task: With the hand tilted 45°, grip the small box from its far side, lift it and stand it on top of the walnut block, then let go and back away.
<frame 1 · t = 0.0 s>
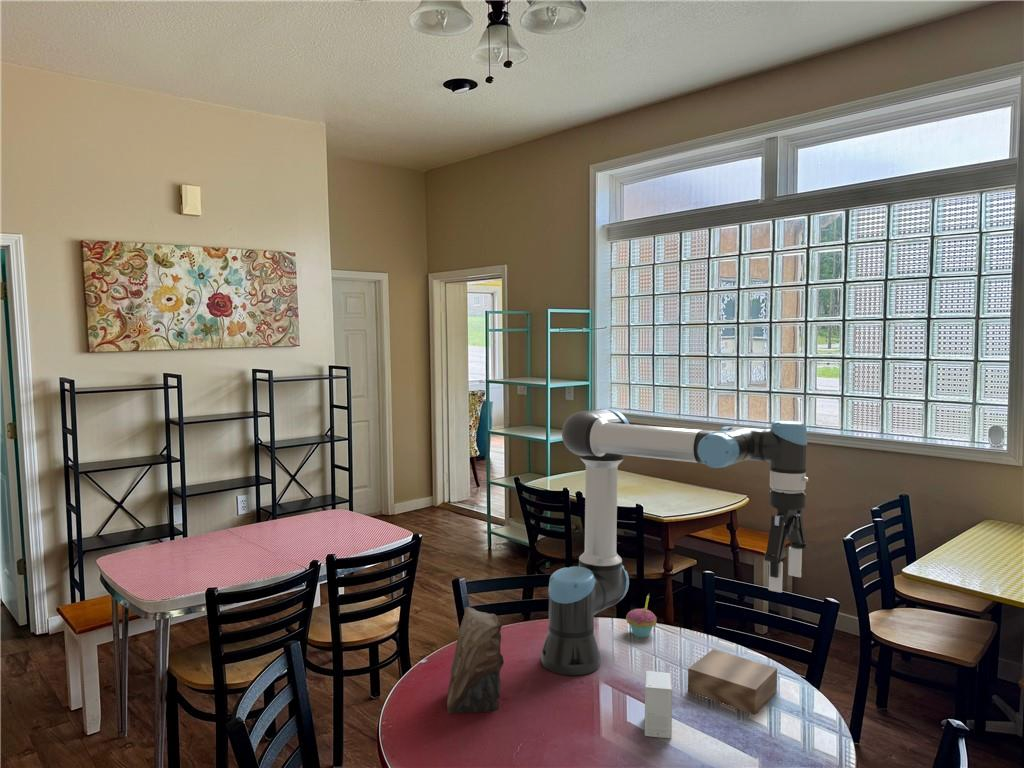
hand: (785, 583, 156), 28 cm above the table, tool pointing down, fingers open, 13 cm apart
cupcake: (640, 635, 196), on the table
walnut block: (732, 693, 163), on the table
owl: (469, 703, 157), on the table
small box: (657, 729, 146), on the table
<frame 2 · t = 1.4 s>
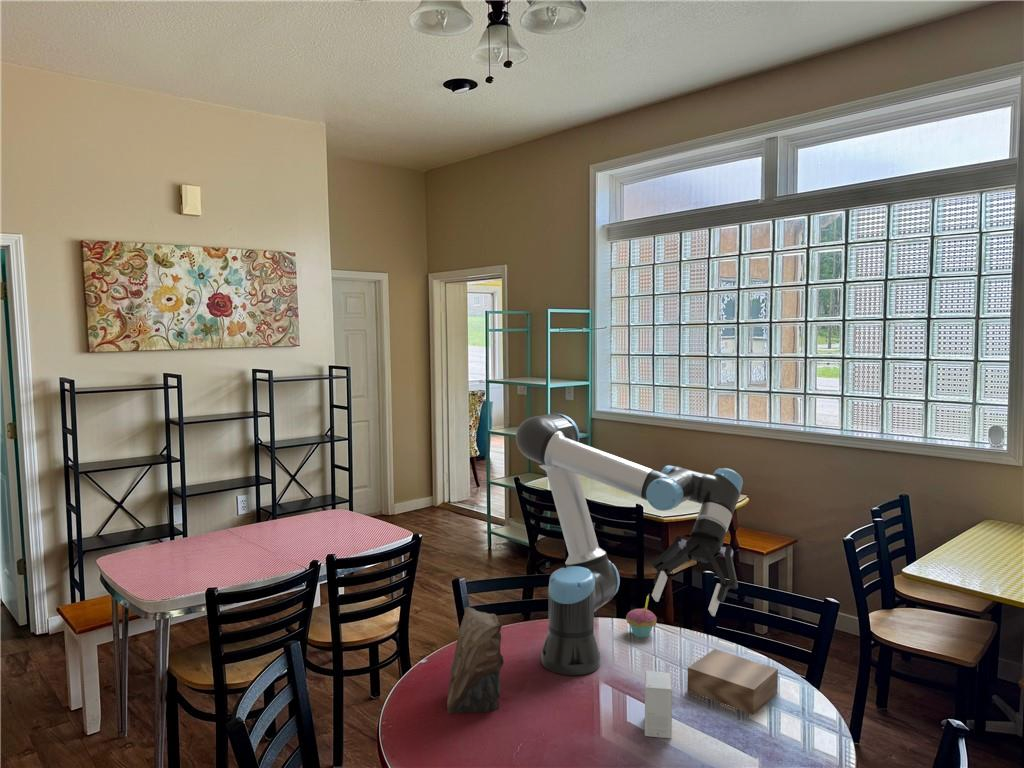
hand: (682, 605, 154), 23 cm above the table, tool tilted 45°, fingers open, 13 cm apart
nothing on the table moved.
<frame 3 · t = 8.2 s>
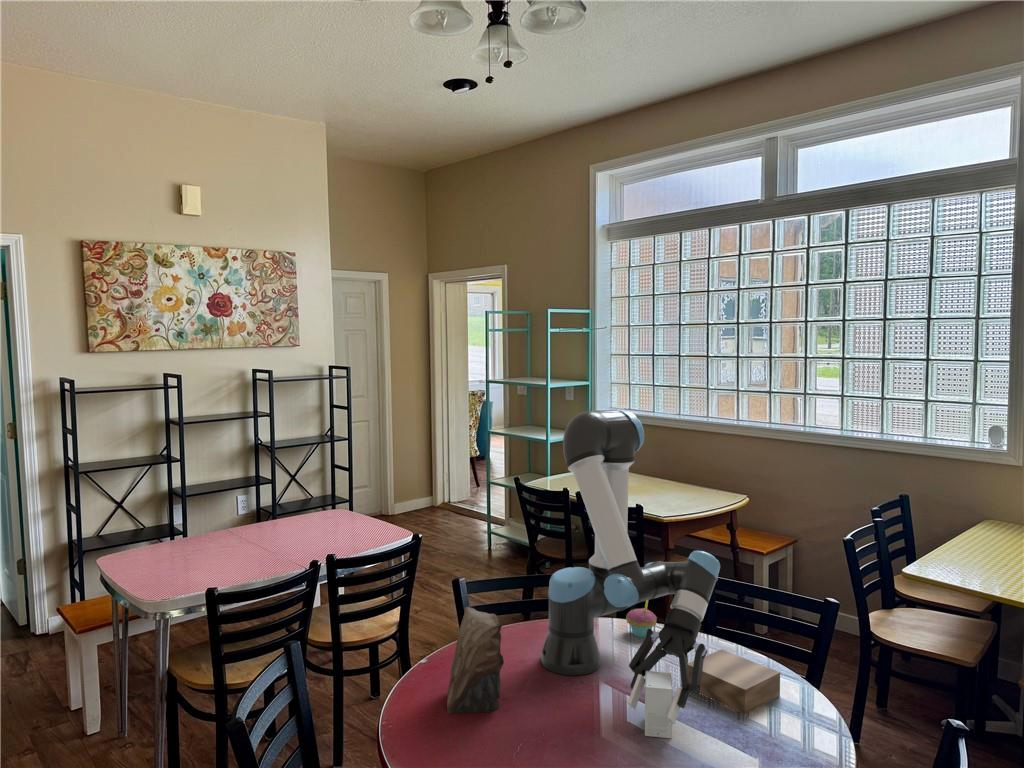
hand: (650, 713, 144), 5 cm above the table, tool tilted 45°, fingers closed on small box, 8 cm apart
small box: (657, 728, 146), on the table, touching gripper
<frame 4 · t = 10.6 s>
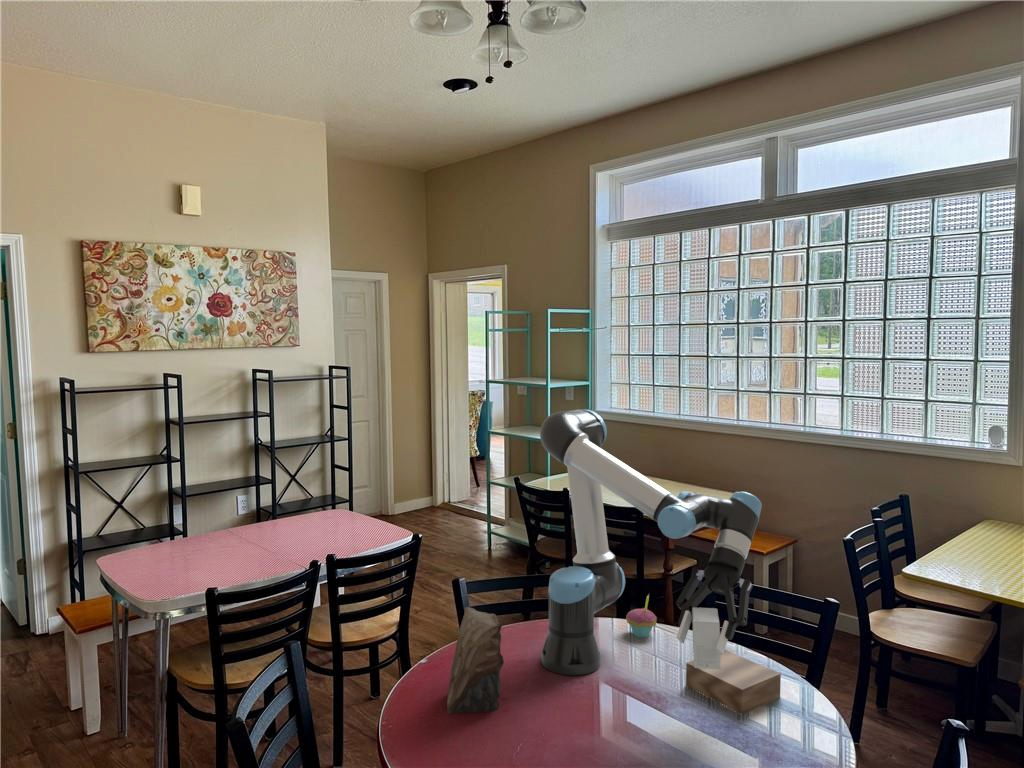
hand: (699, 646, 149), 16 cm above the table, tool tilted 40°, fingers closed on small box, 8 cm apart
small box: (706, 661, 152), point 12 cm above the table, touching gripper
when the fingers open (12 cm above the table, at t = 13.1 s): small box drops 2 cm, resting on walnut block.
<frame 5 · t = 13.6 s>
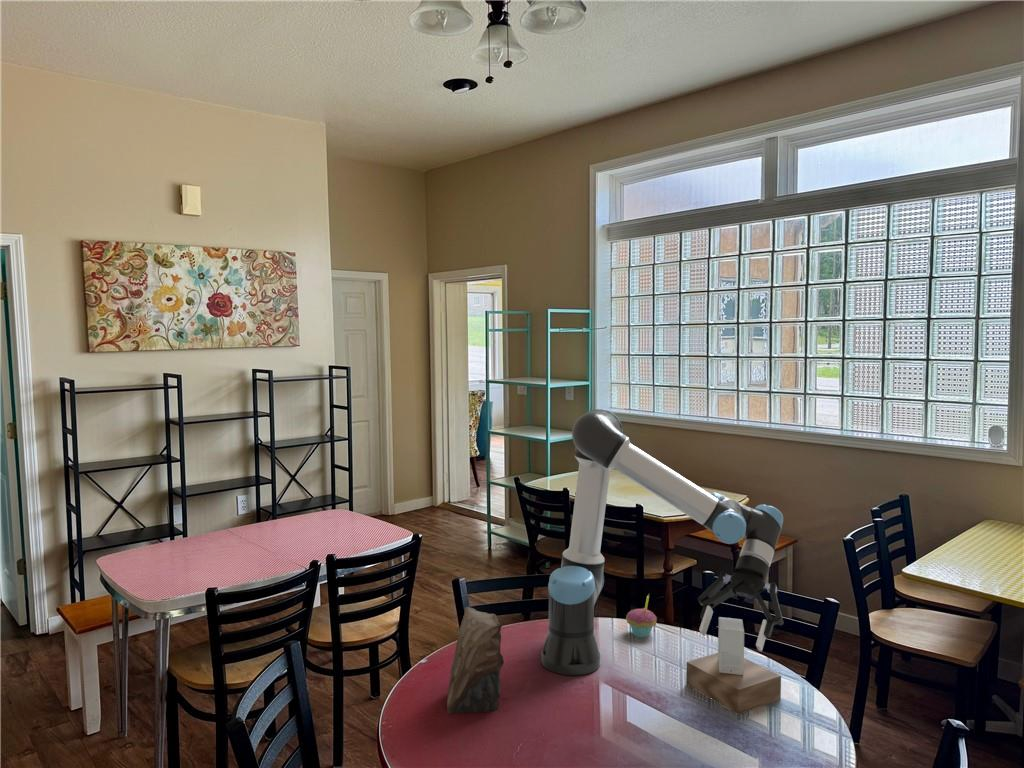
hand: (729, 640, 160), 13 cm above the table, tool tilted 45°, fingers open, 13 cm apart
walnut block: (732, 693, 163), on the table, touching small box
small box: (730, 668, 163), point 5 cm above the table, touching walnut block
everything else where it was.
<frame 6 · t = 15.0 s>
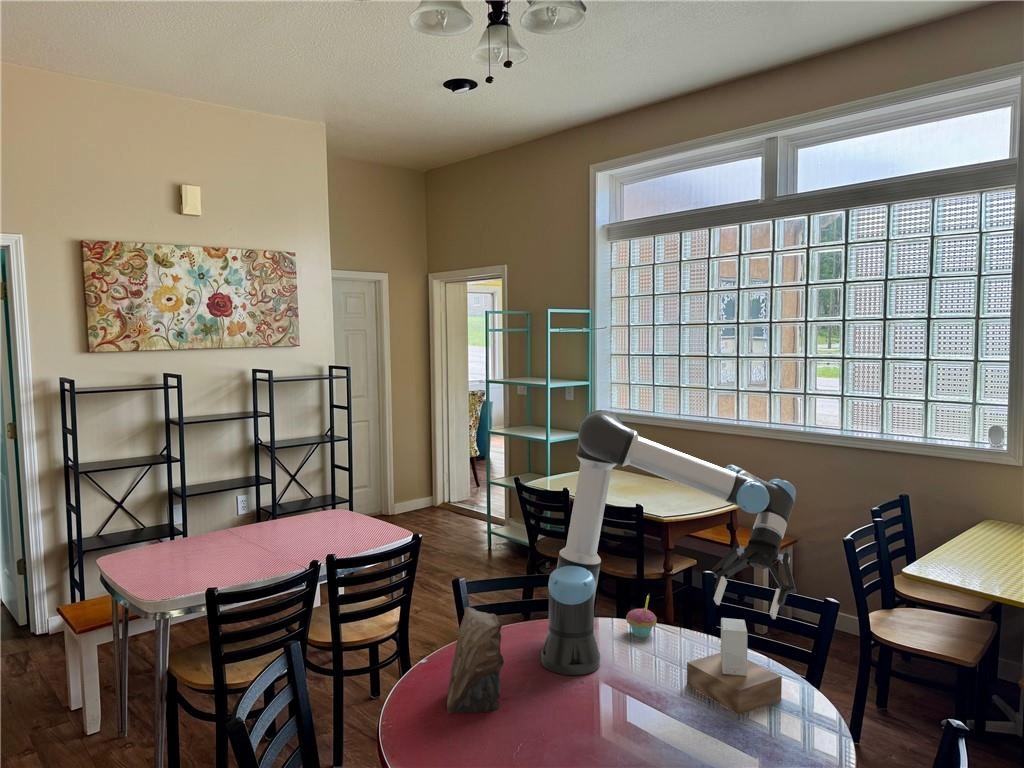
hand: (743, 609, 164), 19 cm above the table, tool tilted 45°, fingers open, 13 cm apart
nothing on the table moved.
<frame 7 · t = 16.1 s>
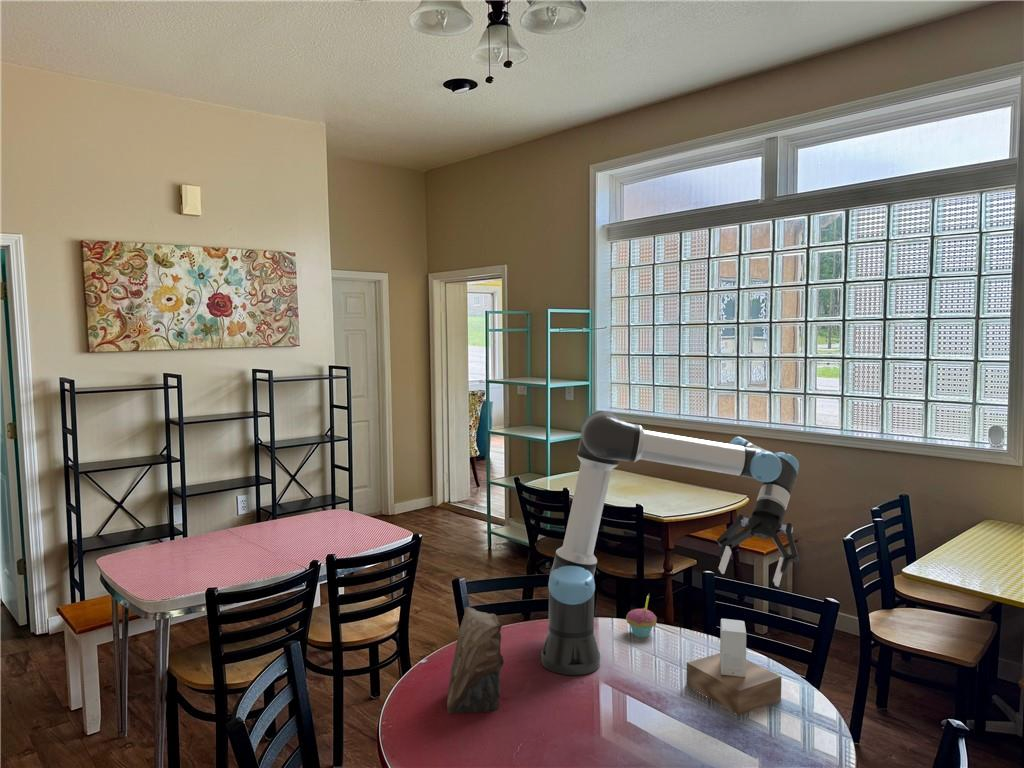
hand: (747, 577, 169), 25 cm above the table, tool tilted 45°, fingers open, 13 cm apart
nothing on the table moved.
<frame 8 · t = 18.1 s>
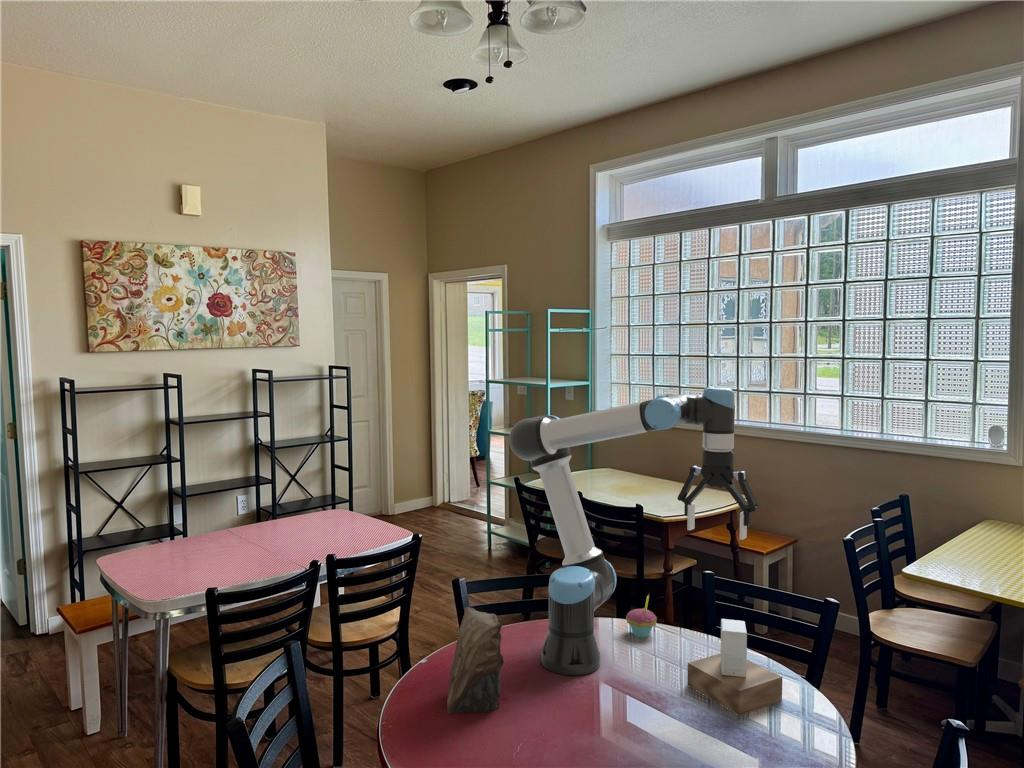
hand: (716, 533, 173), 35 cm above the table, tool pointing down, fingers open, 13 cm apart
at the end: small box inside the target area on the walnut block (0.2 cm from its centre), point 5.8 cm above the walnut block's base; small box tilted 0°; the gripper is holding nothing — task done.
